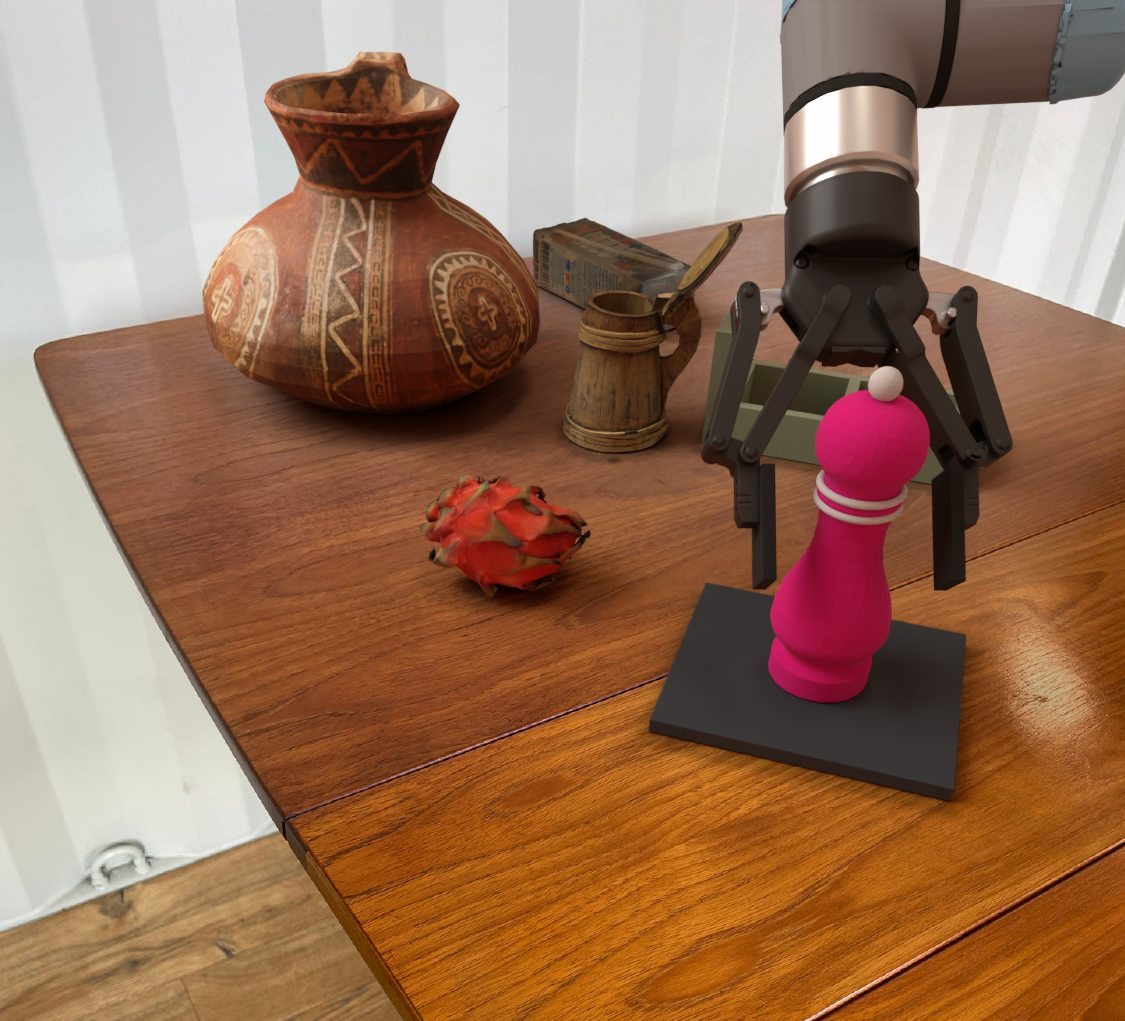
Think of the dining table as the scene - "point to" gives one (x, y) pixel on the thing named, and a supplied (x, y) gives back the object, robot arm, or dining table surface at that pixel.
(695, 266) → the wooden mug
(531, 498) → the dragon fruit
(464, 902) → the dining table surface
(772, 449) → the spice rack
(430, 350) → the jug
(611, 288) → the beverage carton
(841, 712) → the mat
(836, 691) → the pepper mill
